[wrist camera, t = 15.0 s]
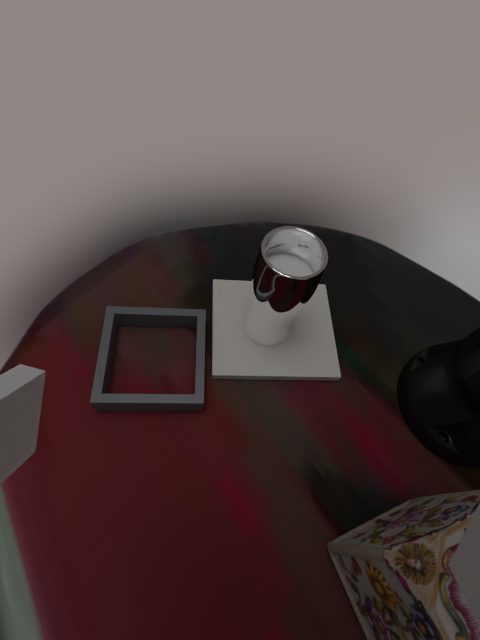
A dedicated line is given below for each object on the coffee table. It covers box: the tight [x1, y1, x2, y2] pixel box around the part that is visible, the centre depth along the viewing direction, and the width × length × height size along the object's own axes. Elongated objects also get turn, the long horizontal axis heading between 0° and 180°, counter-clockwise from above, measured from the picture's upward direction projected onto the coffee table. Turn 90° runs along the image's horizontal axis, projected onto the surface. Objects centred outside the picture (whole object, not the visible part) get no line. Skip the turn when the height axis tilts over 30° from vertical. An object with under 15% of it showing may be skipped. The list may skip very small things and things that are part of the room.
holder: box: [90, 306, 206, 411], centre depth 44 cm, size 12×12×3 cm
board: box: [212, 279, 341, 381], centre depth 49 cm, size 16×14×1 cm
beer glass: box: [244, 226, 328, 346], centre depth 42 cm, size 7×7×15 cm
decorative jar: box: [327, 490, 480, 640], centre depth 30 cm, size 12×12×18 cm
